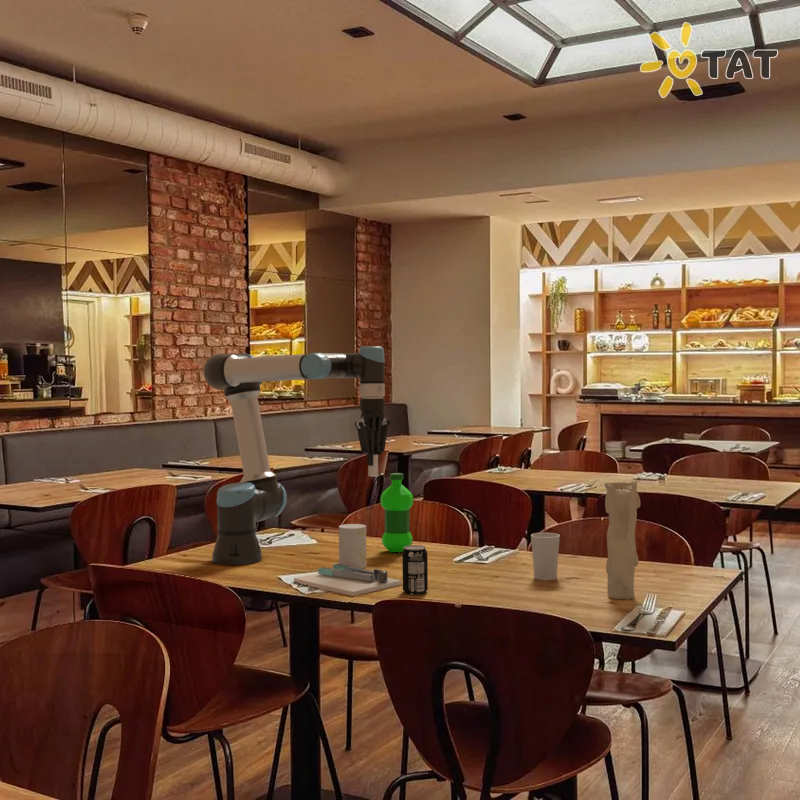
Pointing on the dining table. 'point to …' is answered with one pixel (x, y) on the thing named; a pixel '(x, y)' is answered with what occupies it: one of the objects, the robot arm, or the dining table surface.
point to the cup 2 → (545, 555)
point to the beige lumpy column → (621, 538)
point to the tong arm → (346, 574)
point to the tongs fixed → (378, 574)
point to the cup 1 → (352, 545)
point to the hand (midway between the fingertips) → (373, 476)
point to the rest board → (345, 584)
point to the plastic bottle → (396, 515)
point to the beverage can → (415, 570)
